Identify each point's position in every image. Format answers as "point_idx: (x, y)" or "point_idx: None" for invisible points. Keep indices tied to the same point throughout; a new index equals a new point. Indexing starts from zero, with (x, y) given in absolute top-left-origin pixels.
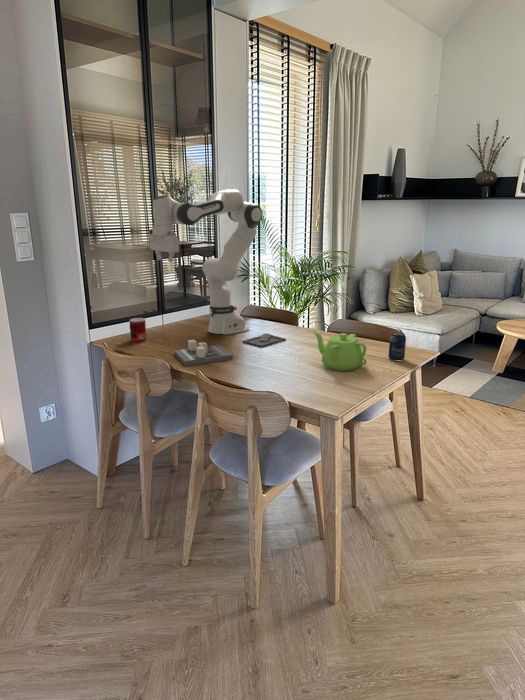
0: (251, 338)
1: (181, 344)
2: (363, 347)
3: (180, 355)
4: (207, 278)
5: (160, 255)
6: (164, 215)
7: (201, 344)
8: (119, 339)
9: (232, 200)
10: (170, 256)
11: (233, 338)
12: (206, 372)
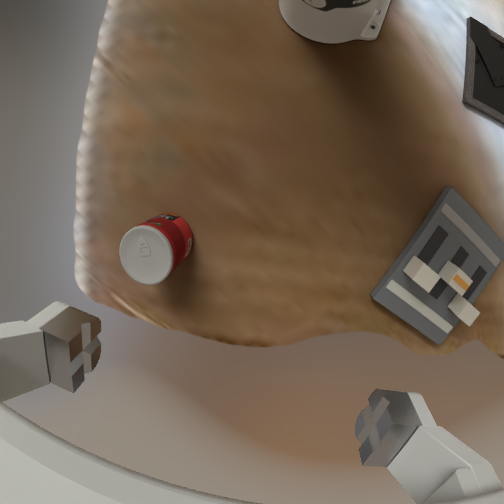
0: (469, 70)
1: (324, 201)
2: None
3: (410, 321)
4: None
5: (29, 338)
6: None
7: (461, 290)
8: None
9: None
10: (430, 483)
11: (417, 68)
12: (482, 342)
